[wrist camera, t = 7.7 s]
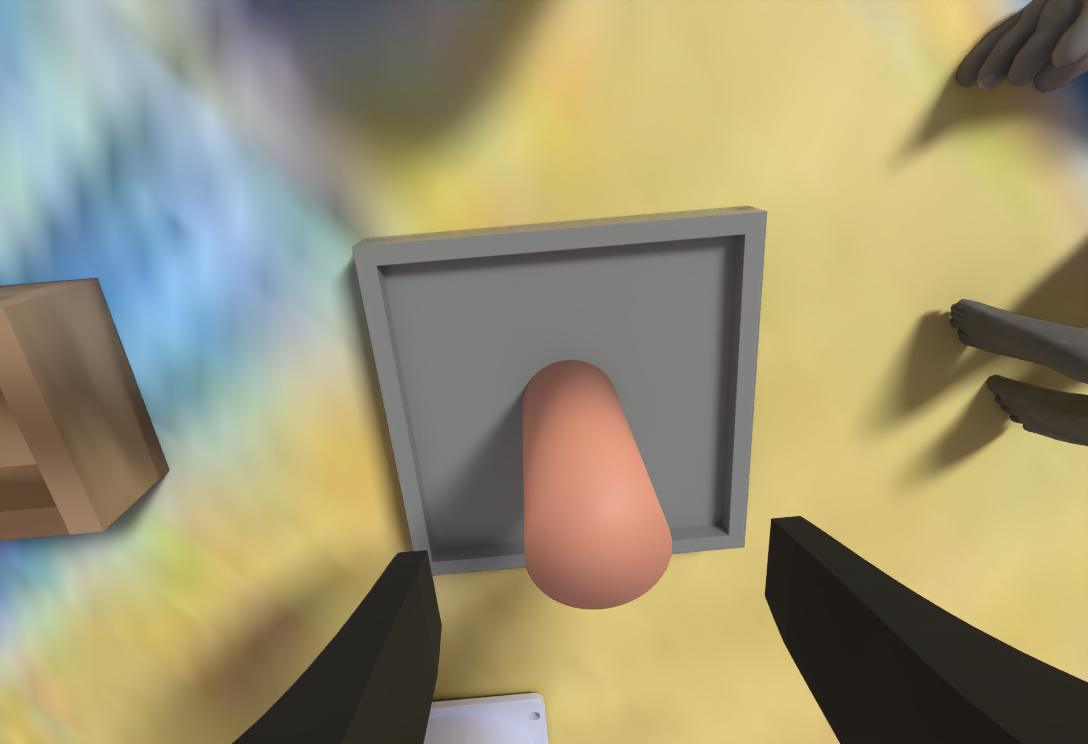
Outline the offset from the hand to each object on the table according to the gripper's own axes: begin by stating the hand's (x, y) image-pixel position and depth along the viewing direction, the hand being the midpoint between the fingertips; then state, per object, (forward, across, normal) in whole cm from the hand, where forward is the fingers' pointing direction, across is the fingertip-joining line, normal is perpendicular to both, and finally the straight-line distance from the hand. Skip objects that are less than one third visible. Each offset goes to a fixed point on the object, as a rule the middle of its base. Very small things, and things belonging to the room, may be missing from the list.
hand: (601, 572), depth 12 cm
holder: (+9, +18, -2) cm, 20 cm away
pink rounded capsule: (+8, 0, 0) cm, 8 cm away
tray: (+9, 0, 0) cm, 9 cm away
